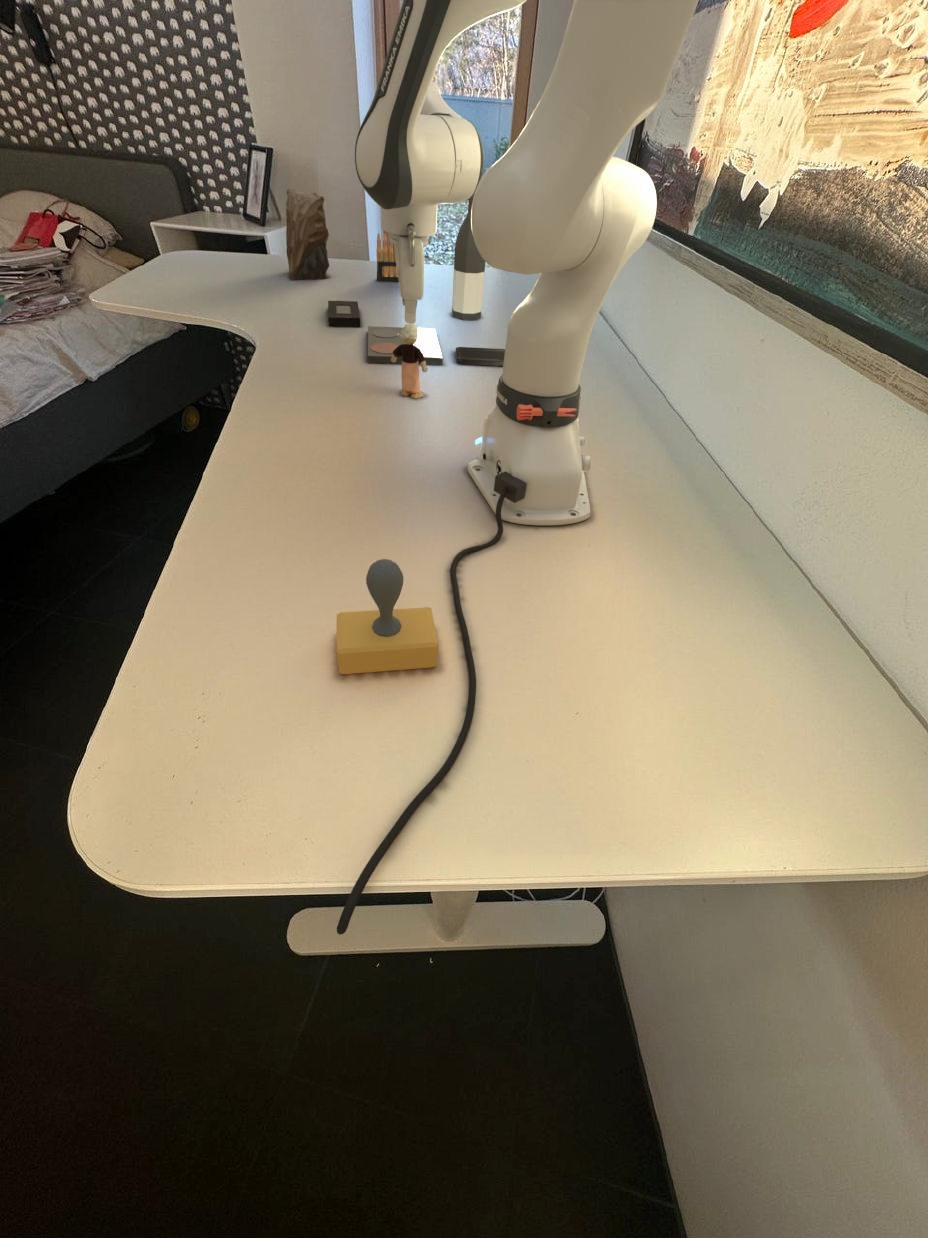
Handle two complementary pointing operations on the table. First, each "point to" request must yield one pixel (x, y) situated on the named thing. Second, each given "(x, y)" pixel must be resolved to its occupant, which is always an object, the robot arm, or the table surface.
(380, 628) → the rubber stamp
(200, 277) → the table surface
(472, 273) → the wine bottle
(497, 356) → the phone
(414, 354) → the grandmother figurine
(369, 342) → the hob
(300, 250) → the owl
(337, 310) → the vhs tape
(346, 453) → the table surface
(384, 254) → the ammunition clip
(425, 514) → the table surface
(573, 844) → the table surface
